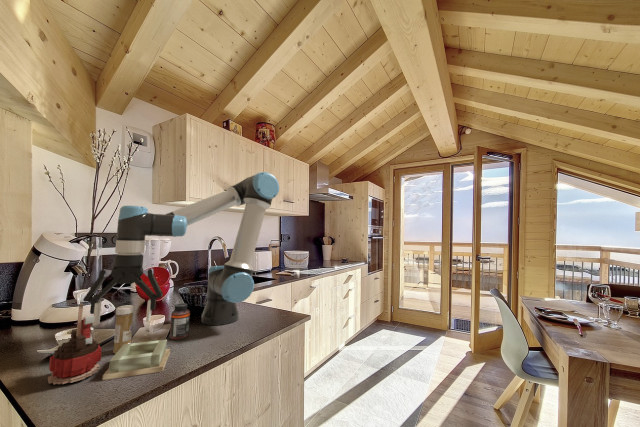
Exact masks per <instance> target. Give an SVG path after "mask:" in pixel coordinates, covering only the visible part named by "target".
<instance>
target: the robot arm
mask: <svg viewBox="0 0 640 427" xmlns="http://www.w3.org/2000/svg"><path fill="white" fill-rule="evenodd" d="M279 192H280V185H279V181H278V179H277V177H276V176H275V175H273V174H272V173H271V172H267V171H263V172H262V171H261V172H257V173H255V174H254V175H252V176H249V177H246V178H244V179H243V180H241V181H239V182H238V183H236V184H234V185H231V186H229V187H228V189H227V190H225V191H222V192H219V193H216V194H213V195H212V196H209V197H206V198H204V199H201V200H198V201H196V202H193V203H190V204H188V205H186V206H184V207H181V208H177V209H175V210H173V211H171V212H167V213H165V214H163V213H161V214H160V213H158V214H157V213H150V212H149V211H148V207H146V206H140V205H139V206H138V205H123V206H121V207H120V208H119V213H118V214H119V215H118V217H117V218H118V219H117V229H116V240H115V248H114V253H115V255H114V260H113V268H112V270H111V269H107V268H104V269H101V270H100V271H99V275H98V278H96V281H94V284H93V285H92V286H91V287H90V289H89V290H88V291H87V293H86V295H85V296H84V297H83V299H82V301H84V302H87V303H90V308H89V309H90V310H89V314H90V315H93V316H94V318H95V319H94V323H92V327H96V326H97V325H99V324H100V322H101V321H100V320H101V309H102V301H100V300H101V299H102V298H103V297H104V296H105V295H106V294H107V293H108V292H109V291H110V290H111V289H112V288H113V287H114V286H116V285H117V284H120V285H125V284H127V285H133V284H135V285H137V286H138V287H139V288H140V289H141V290H142V291H143V293H145V295H146V296H148V298H149V299H148V300H147V306H146V318H145V322H146V323H149V322H150V321H151V318H152V311H154V310H155V308H156V305H157V304H156V302H157V299H160V298H162V297H163V295H164V294H163V291H162V289H161V287H160V285H159V283H158V281H157V279H156V277H155V270H154V268H150V269H144V267H143V264H144V254H143V253H145V244H146V236H148V237H174V238H175V237H183V236H185V235H186V233H187V229H188V226H191V225H192V224H194V223H197V222H199V221H202V220H204V219H206V218H209V217H211V216H213V215H217V214H218V213H220V212H223V211H225V210H227V209H230V208H232V207H235V206H236V207H241V206H242V205H245V206H244V211H243V214H242V217H241V220H240V224H239V227H238V231H237V234H236V238H235V240H234V245H233V248H232V252H231V254H230V259H229V260H228V261H227V262H225V263H224V264H223V265H216V266H215V265H213V266H210V267H209V269H208V272H207V292H206V293H207V294H206V304H205V306H204V309H203V311H202V313H201V319H200V320H201V323H202V324H204V325H210V326H220V325H228V324H231V323H234V322H236V321H238V320H239V316H240V312H239V308H238V305H237V304H238V303H242V302H244V301H246V300H247V299H249V297H251V294H252V293H253V292H254V289H255V282H254V279H253V274H254V268H253V266H252V262H253V258H254V254H255V250H256V248H257V244H258V239H259V238H260V237H259V236H260V233H261V229H262V226H263V221H264V218H265V214H266V211H267V210H268V209H269V208H271V205H272V202H273V199H275V198H276V197H277V196H278V195H279ZM110 275H111V277H112V278H113V279H112V280H111V281H110V282H109V283H108V284H107V285H106V286H105V287H104V288H103V289H101V290H100V291H99V292H98V293H97V291H98V290H99V289H100V287H101V286H102V285H103V282H104V281H105V280H106V279H107V277H109V276H110ZM143 275H145V277H147V278H148V280H149V283H150V285H151V287H152V289H153V290H152V289H151V288H150V287H149V286H148V284H147V283H145V282H144V280H143V279H142V276H143ZM96 293H97V294H96ZM95 294H96V295H95ZM94 295H95V296H94Z"/></svg>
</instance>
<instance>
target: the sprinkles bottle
mask: <svg viewBox="0 0 640 427" xmlns="http://www.w3.org/2000/svg"><path fill="white" fill-rule="evenodd" d="M134 312H135V306H134V305H121V306H118V307H116V310H115V316H116V317H115V324H114V326H115V327H114V336H113V337H114V339H113V351H112V353H113V354H114V355H115V354H116V353H117V352H118V351H119V350H120V348H121V347H122V346H123V345H124V344H128V343H130V342H131V343H132V337H133V334H132V333H133V318H134V317H133V316H134Z"/></svg>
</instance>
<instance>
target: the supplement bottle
mask: <svg viewBox="0 0 640 427" xmlns="http://www.w3.org/2000/svg"><path fill="white" fill-rule="evenodd" d="M190 315H191V311H190V310H189V309H188V303H184V302H180V303H177V304H174V309H173V311H171V314H170V328H169V329H170V330H169V331H170V332H169V338H170V339H171V340H173V341H174V340H176V341H177V340H178V341H179V340H183V339H185V338H187V337H188V336H189V333H190V318H191V317H190Z"/></svg>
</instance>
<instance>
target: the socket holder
mask: <svg viewBox="0 0 640 427" xmlns="http://www.w3.org/2000/svg"><path fill="white" fill-rule="evenodd" d="M167 343H168V339H160V340H151V341H150V340H149V341H142V342H133V343H132V342H131V344H124V345H123V346H122V347H121V348H120V350H119V351H118V352H117V353H116V354H115V353H114V355H113V357H112V358H111V359H110V360H109V366H108V369H107V370H105V372H104V373H103V374H102V381H107V380H113V379H114V380H115V379H121V378H127V377H128V378H129V377H133V376H134V377H135V376H140V375H147V374H153V373H161V372H163V371H164V369H165V366H166V364H167V361H168V358H169V356H170V354H171V348H167V346H168V344H167Z"/></svg>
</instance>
